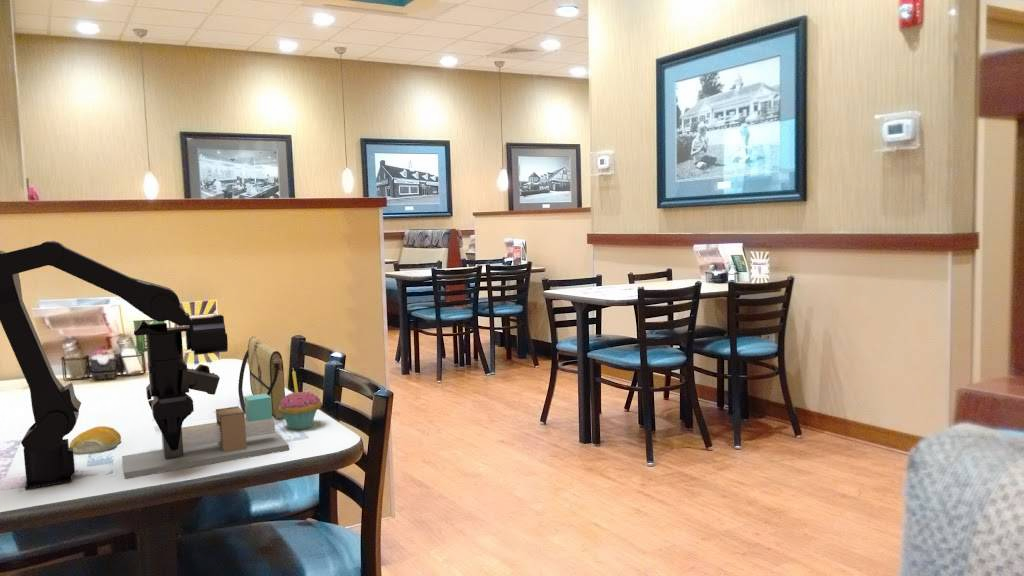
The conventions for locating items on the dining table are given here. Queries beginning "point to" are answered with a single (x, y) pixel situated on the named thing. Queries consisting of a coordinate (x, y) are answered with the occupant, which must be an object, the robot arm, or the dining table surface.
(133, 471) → the guide
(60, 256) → the robot arm
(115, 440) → the bread roll
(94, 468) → the dining table surface
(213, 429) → the grey long block
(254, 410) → the block
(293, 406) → the cupcake
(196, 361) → the dining table surface
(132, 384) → the dining table surface
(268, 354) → the shoulder bag
